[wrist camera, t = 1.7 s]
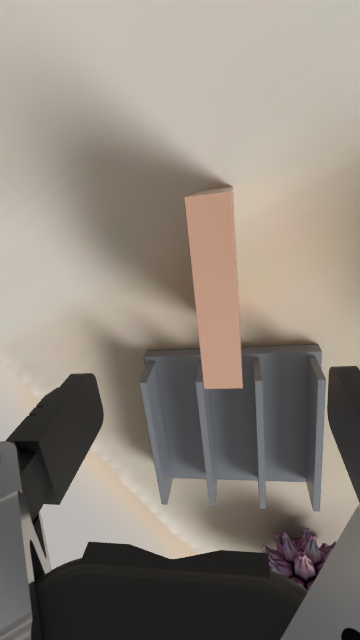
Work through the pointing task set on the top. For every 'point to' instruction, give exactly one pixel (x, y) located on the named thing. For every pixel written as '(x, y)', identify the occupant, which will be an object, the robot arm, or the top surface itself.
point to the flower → (298, 557)
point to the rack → (237, 419)
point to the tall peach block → (216, 285)
